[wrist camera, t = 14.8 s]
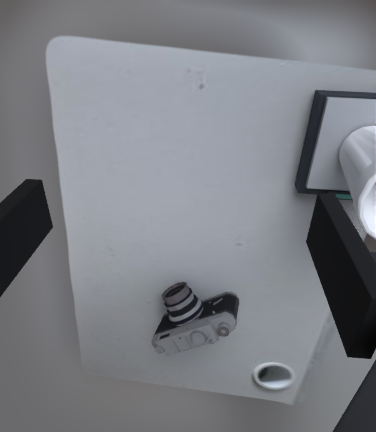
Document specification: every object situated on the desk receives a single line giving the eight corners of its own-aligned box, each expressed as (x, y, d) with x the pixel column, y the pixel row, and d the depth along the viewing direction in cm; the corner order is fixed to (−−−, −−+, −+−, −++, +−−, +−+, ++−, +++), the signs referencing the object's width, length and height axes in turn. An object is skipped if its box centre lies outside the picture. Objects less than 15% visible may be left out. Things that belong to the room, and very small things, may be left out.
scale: (315, 90, 42) (323, 97, 39) (425, 95, 41) (442, 103, 38) (294, 184, 49) (300, 197, 45) (388, 190, 48) (400, 204, 45)
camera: (221, 263, 59) (213, 292, 50) (242, 303, 61) (238, 339, 51) (147, 291, 64) (126, 322, 55) (168, 328, 66) (152, 365, 57)
